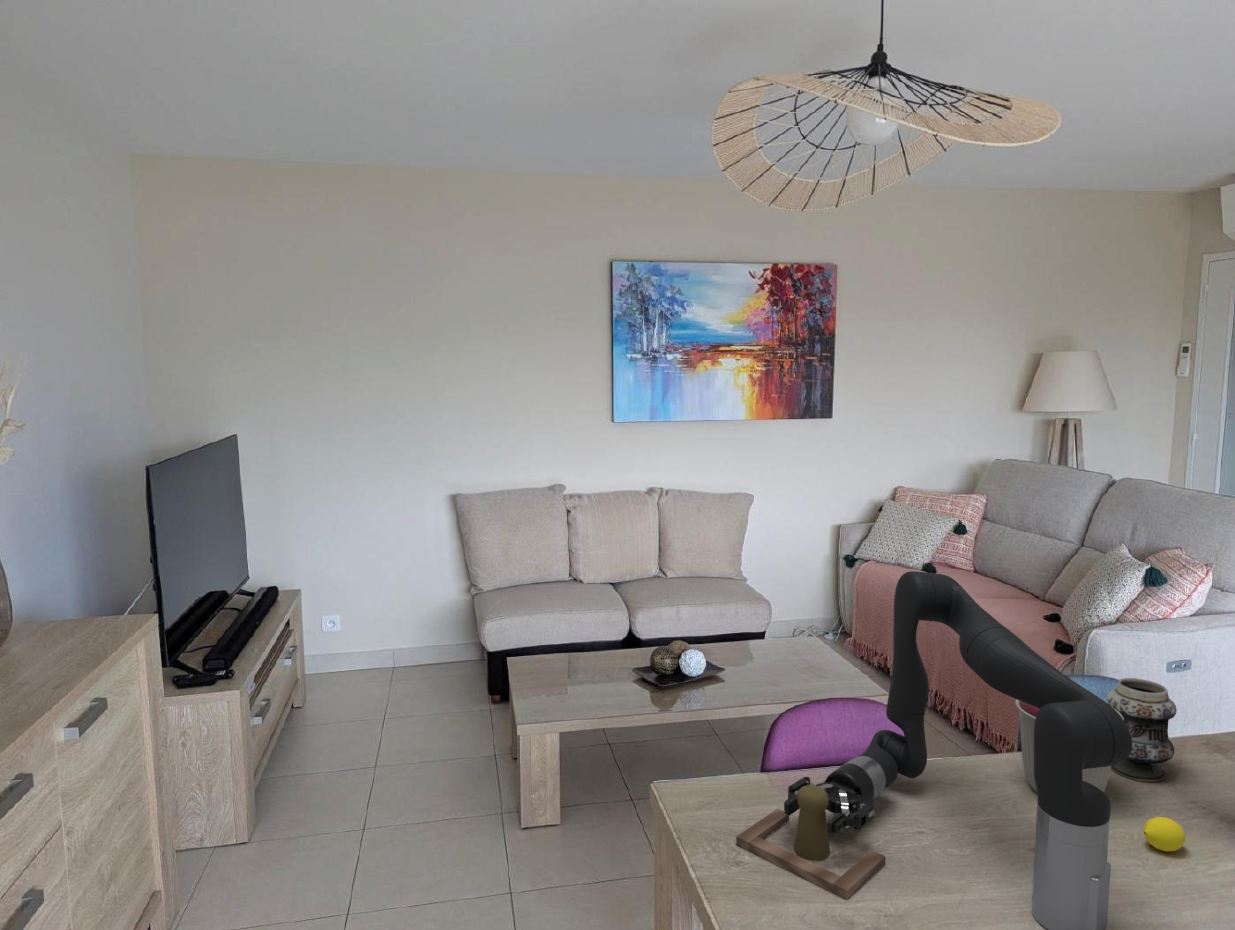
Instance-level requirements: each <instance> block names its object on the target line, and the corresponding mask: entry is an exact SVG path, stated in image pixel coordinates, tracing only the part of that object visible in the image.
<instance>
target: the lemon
mask: <svg viewBox="0 0 1235 930" xmlns="http://www.w3.org/2000/svg"><path fill="white" fill-rule="evenodd" d="M1143 836H1144V838H1145V840H1147V842H1148V843H1149V845H1151V846H1153V847H1154V848H1155V849H1156V850H1159V851H1163V852H1167V853H1168V852H1176V851H1177V850H1178V851H1179V850H1180V849H1182V848H1183V846H1184V845H1185V843H1186V833H1185V832H1184V830H1183V828H1182V826H1181V825H1180V824H1179V823H1178V822H1177V821H1175V820H1173V819H1170V818H1169V817H1167V816H1166V817H1164V816H1155V817H1151V818H1149V819H1147V821H1146V822H1145V823H1144V826H1143Z"/></svg>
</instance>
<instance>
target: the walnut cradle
mask: <svg viewBox="0 0 1235 930" xmlns="http://www.w3.org/2000/svg"><path fill="white" fill-rule="evenodd" d="M788 821H789V822H790V816H788V815H786V814H785V811H784V810H782V809H780V808H776V809H774V810H773V811H771V812H770V813H769V814H767V815H765V816H764V817H763V818H761V819H760V820H758V821H757V822H755V823H754V824H752V825H751V826H750V827H748V828H746V829H745V830H744V831H742V832H741V833H739V834H738V835H736V836H735V838H736V839H735V840H736V843H735V845H736V846H738V847H740V848H742V849H744V850H746V851H749V852H750V853H752V854H754V855H756V856H758V857H760V858H762V859H764V860H766V861H768V862H771V863H772V864H774V865H776V866H779V867H781V868H782V869H784V870H786V871H788V872H790V873H793V874H794V875H796V876H799V877H800V878H803V879H804V880H807V881H809V882H810V883H812V884H814V885H817V886H818V887H821V888H823V889H824V890H826V891H828V892H831V893H833V894H834V895H836V896H838V897H840V898H842V899H844V900H848V899H850V898H851V897H852V896H853V895H854V894H855V893H856V892H857V891H858V890H859V889H860V888H862V887H863V886H864V885H865V884H866V883H867V882H868V881H869V880H870V879H871V878H873V876H875V875H876V874H877V873H878V872H879V871H880V870H881V869H882V868H883V867H884V866H885V865H886V855H884V854H882V853H879V852H877V851H875V850H873V849H870V851H869V852H867V853H866V854H865V855H863V856H862V858H860V859H859V860H858V861H857V862H856V863H854V864H853V865H852V866H851V867H850V868H849V869H848V870H846V871H845V872H844V873H843V874H842V875H841V876H840V875H838V874H836V873H834V872H832V871H830V870H828V869H826V868H824V867H822V866H819V865H818V864H816V863H813V861H810V860H806V859H803V858H801V857H799V856H798V855H797V854H796V853H795V854H794V853H793V852H790V851H789V850H786V849H784V848H783V847H780V846H778V845H776V844H774V843H771V842H770V841H768V840H765V839H766V837H767V836H768V835H769V836H771V835H772V834H773V833H772V832H773V831H775V832H777V831H778V830H779V829H780V827H781V826H782V825H783V824H785V823H786V824H788V823H789V822H788ZM787 822H788V823H787ZM786 824H785V825H786ZM783 826H784V825H783ZM783 826H782V827H783ZM782 827H781V828H782ZM777 829H778V830H777ZM771 833H772V834H771ZM770 834H771V835H770ZM769 836H768V837H769ZM768 837H767V838H768Z"/></svg>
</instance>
